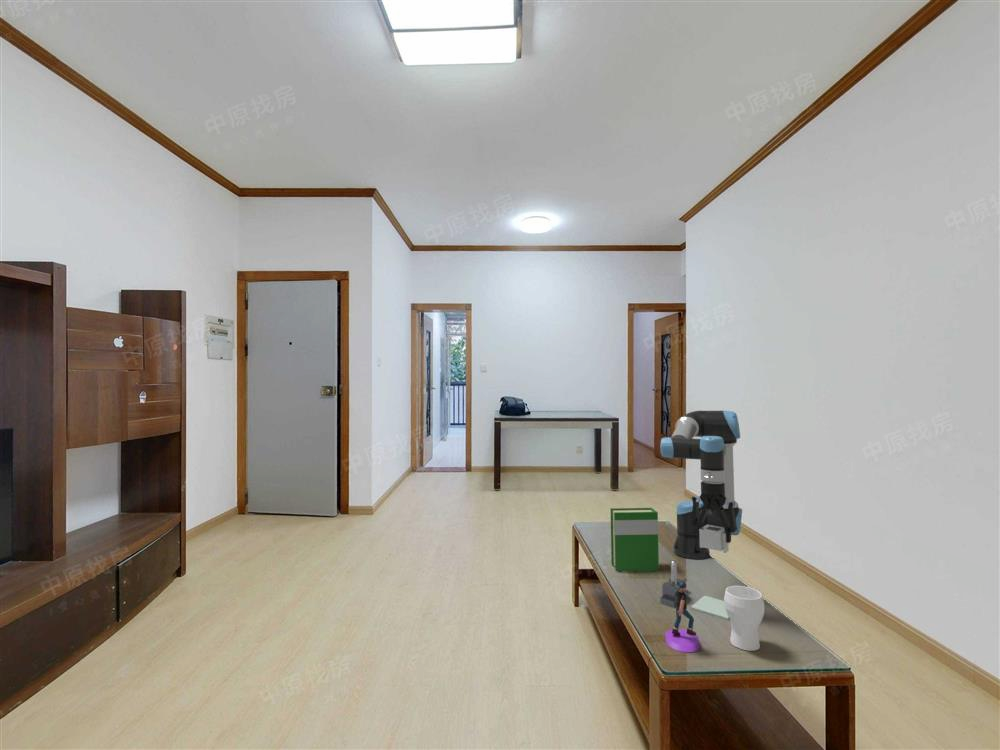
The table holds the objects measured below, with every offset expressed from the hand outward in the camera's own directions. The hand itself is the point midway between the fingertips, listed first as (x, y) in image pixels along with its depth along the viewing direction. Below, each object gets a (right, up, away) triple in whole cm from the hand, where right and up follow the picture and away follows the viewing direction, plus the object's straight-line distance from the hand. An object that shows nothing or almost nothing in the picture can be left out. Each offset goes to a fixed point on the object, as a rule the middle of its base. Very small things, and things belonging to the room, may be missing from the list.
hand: (714, 549), depth 165 cm
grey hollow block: (0, +1, 0) cm, 1 cm away
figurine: (-19, -20, -22) cm, 36 cm away
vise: (-10, -20, +8) cm, 24 cm away
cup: (-1, -20, -23) cm, 30 cm away
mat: (0, -20, 0) cm, 20 cm away
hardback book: (-17, -21, +36) cm, 45 cm away
